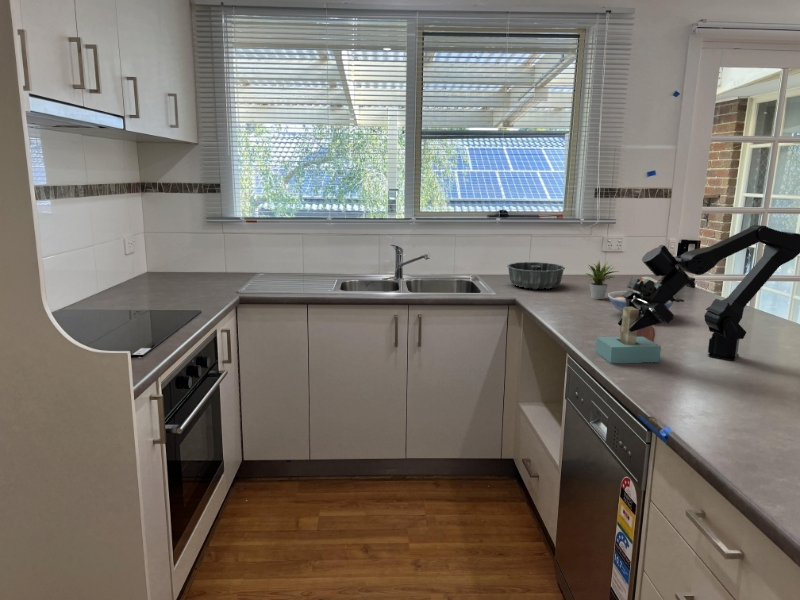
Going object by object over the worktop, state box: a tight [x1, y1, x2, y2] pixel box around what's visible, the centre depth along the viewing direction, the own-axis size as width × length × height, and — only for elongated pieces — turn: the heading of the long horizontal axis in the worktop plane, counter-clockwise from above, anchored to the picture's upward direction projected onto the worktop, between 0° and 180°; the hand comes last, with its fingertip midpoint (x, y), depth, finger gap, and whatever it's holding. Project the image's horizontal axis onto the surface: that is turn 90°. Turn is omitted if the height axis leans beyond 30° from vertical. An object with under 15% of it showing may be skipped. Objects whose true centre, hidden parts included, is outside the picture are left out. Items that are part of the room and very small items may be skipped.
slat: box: [620, 307, 639, 345], centre depth 155 cm, size 4×2×14 cm, turn 5°
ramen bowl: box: [607, 290, 685, 313], centre depth 205 cm, size 25×23×8 cm
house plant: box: [585, 260, 620, 300], centre depth 234 cm, size 14×14×16 cm
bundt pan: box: [507, 261, 566, 290], centre depth 264 cm, size 26×26×10 cm
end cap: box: [595, 336, 662, 364], centre depth 156 cm, size 10×14×4 cm
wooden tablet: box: [619, 325, 655, 342], centre depth 179 cm, size 27×10×2 cm, turn 157°
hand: (624, 327), depth 155 cm, fingers open, 6 cm apart
